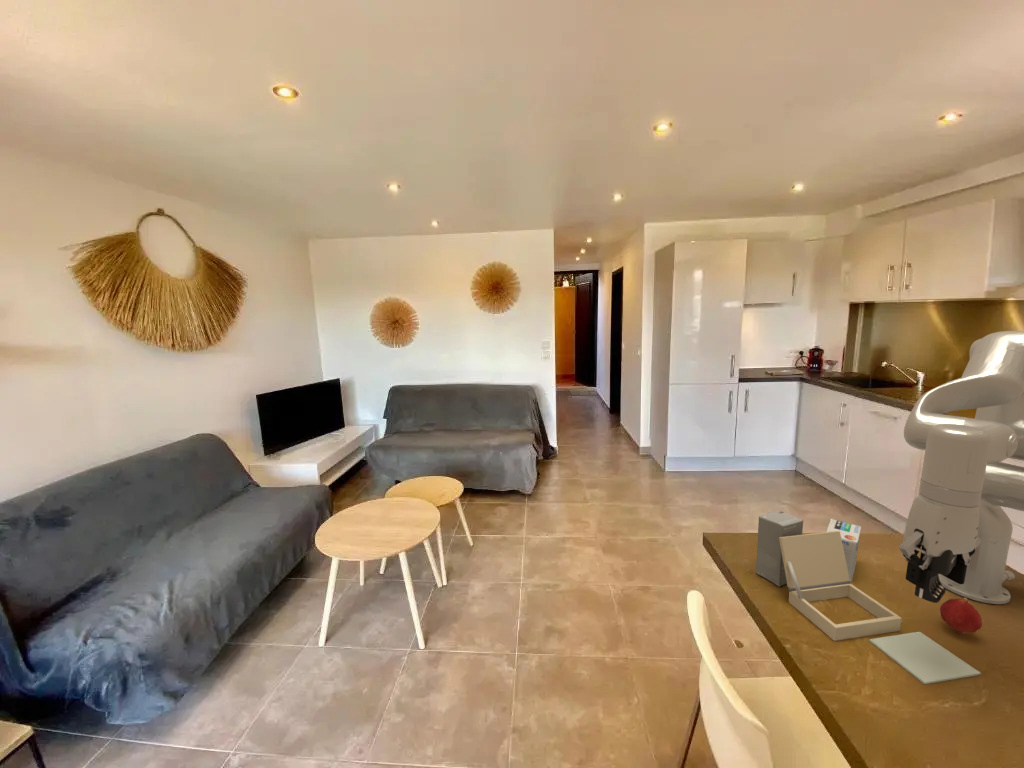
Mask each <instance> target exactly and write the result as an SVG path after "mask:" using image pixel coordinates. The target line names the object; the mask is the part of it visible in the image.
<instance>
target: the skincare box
mask: <svg viewBox="0 0 1024 768" xmlns="http://www.w3.org/2000/svg"><path fill="white" fill-rule="evenodd" d="M757 524H758V527H757V543H756V544H757V545H756V548H757V549H756V563H755V565H756V567H755V574H757V575H759V576H761V577H762V578H764V579H766V580H768V581H769V582H771V583H772V584H774V585H776V586H777V587H782V586H783V585H787V580H786V574H785V569H784V563H783V558H782V552H781V547H780V541H779V537H786V536H795V535H803V532H804V531H803V529H804V519H801V518H799V517H797V516H794V515H791V514H789V513H788V512H784V511H781V510H777V511H773V512H771V511H770V512H767V513H766V514H762V515H759V516H758V523H757Z"/></svg>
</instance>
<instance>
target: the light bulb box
mask: <svg viewBox="0 0 1024 768" xmlns="http://www.w3.org/2000/svg"><path fill="white" fill-rule="evenodd" d="M832 531H840V535H841V539H842V544H843V549H844V554H845V559H846V564H847V569H848V574H849V578H850V582H852V581H853V578H854V574H855V571H856V570H855V569H856V566H857V560H858V559H857V558H858V552H859V544H860V537H861V532H862V526H860V525H857V524H853V523H848V522H845V521H840V520H837V519H834V518H829V520H828V525H827V528H826V530H825V532H832Z"/></svg>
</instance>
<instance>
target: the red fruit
mask: <svg viewBox="0 0 1024 768" xmlns="http://www.w3.org/2000/svg"><path fill="white" fill-rule="evenodd" d="M968 599H969V598H966V597H962V598H952V599H948V600H946V601H944V602H943V603H941V605H940V607H939V613H940V617H941V619H942V621H943V622H945V624H947V625H948V627H950V628H951V629H953V631H954V632H955V633H958V634H974V633H976V632H978V631H979V630H980V629H981V628H982V626H983V621H982V617H981V614H980V613H979V611H978V610H977V609H976V608H975V607H974V606H973V605H972V604H971V603H969V600H968Z"/></svg>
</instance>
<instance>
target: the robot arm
mask: <svg viewBox="0 0 1024 768" xmlns="http://www.w3.org/2000/svg"><path fill="white" fill-rule="evenodd" d="M968 354H969V361H968V362H967V364H966V366H965V369H964V371H963V372H962V375H961V377H958V378H956V379H953V380H951V381H947V382H945V383H942V384H939V386H936V387H934V388H931V389H930V390H928V391H926V392H925V393H924V394H922V395H921V396H920V397H919V398H918V399H917V401H916V402H915V403H914V405H913V408H912V409H911V411H910V414H909V415H908V417H907V419H906V422H905V425H904V428H903V437H904V441H905V442H906V443H907V444H908V445H909V446H910V447H912V448H914V449H917V450H922V451H924V457H923V462H922V469H921V477H920V481H919V488H918V495H917V496H915V498H914V500H913V501H912V504H911V506H910V509H909V512H908V516H907V519H906V524H905V528H904V531H903V532H904V533H903V542H902V543H901V544H899V545H898V549H899V550H900V552H901V553H902V556H903V558H905V561H906V562H907V565H906V566H907V567H906V572H905V573H906V574H905V580H906V581H907V582H909V583H911V584H912V585H915V587H916V586H918V587H919V588H921V589H927V586H928V580H929V574H930V570H929V569H927V567H928V566H929V564H930V562H931V561H932V559H933V558H934V557H938V556H941V555H942V553H943V552H944V551H946V550H951V551H952V552H953V555H956V554H957V559H956V564H955V566H954V567H953V568H952V570H951V572H950V573H949V574H948V575H941V574H939V580H940V582H941V584H942V586H943V588H944V589H945V590H948V591H950V592H952V593H954V594H956V595H958V596H962V598H967V599H969V600H973V601H976V602H980V603H984V604H991V605H1004V604H1008V603H1009V602H1010V601H1011V593H1010V592H1009V590H1008V589H1007V588H1005V587H1004V586H1003V582H1005V581H1009V580H1014V579H1015V578H1016V575H1015V573H1013V571H1010V570H1006V564H1007V559H1008V556H1009V555H1008V554H1009V549H1010V544H1011V539H1012V534H1013V524H1012V520H1011V519H1010V518H1009V516H1008V514H1007V513H1006V512H1005V511H1004V509H1003V508H1008V509H1012V510H1016V511H1020V512H1024V466H1021V465H1016V464H1011V463H1005V462H1003V461H1005V460H1007V459H1012V460H1018V461H1023V462H1024V330H1004V331H996V332H991V333H989V334H986V335H985V336H983V337H981V338H978V339H977V340H974V341H973V342H972V344H971V345H970V348H969V353H968ZM973 409H976V410H975V411H976V412H975V416H974V418H970V417H965V416H958V415H951V414H950V415H949V414H946V413H950V412H955V411H961V410H963V411H964V410H973ZM1002 507H1003V508H1002ZM922 545H924V547H925V548H926V549H927V550H926V551H924V550H922ZM919 553H920V554H921V553H923V554H925V556H924V557H923V559H922V560H921V559H920V556H918V554H919Z"/></svg>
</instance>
